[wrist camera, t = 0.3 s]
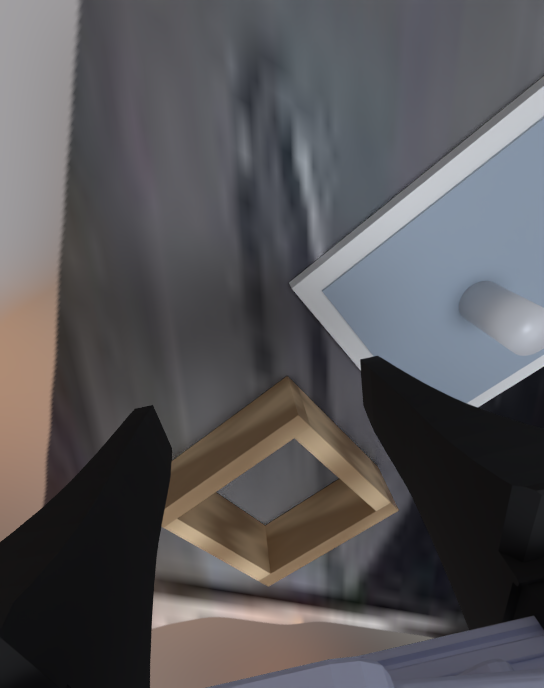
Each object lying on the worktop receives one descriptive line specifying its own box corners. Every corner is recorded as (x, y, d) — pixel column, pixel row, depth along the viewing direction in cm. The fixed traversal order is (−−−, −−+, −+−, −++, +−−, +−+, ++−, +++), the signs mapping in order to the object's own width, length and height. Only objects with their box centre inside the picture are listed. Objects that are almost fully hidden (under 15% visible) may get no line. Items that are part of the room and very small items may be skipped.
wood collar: (377, 466, 29) (398, 510, 26) (263, 538, 32) (268, 586, 28) (287, 376, 24) (298, 415, 20) (159, 470, 26) (149, 519, 23)
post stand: (620, 303, 24) (718, 342, 19) (414, 433, 28) (455, 492, 23) (551, 69, 17) (679, 39, 12) (288, 282, 21) (308, 323, 16)
